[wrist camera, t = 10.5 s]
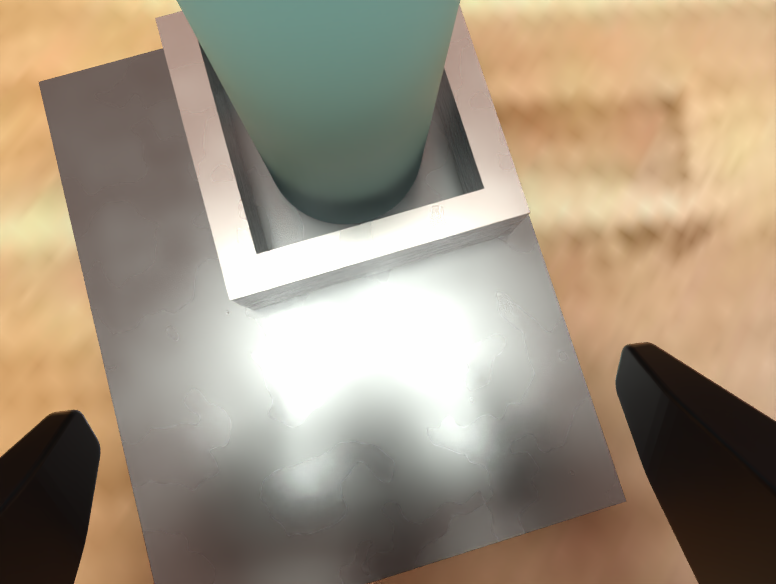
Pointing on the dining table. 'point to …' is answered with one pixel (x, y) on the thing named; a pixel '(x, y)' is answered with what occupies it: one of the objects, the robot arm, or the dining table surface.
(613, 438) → the dining table surface
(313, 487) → the socket board
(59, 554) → the robot arm
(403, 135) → the teal tall cylinder
